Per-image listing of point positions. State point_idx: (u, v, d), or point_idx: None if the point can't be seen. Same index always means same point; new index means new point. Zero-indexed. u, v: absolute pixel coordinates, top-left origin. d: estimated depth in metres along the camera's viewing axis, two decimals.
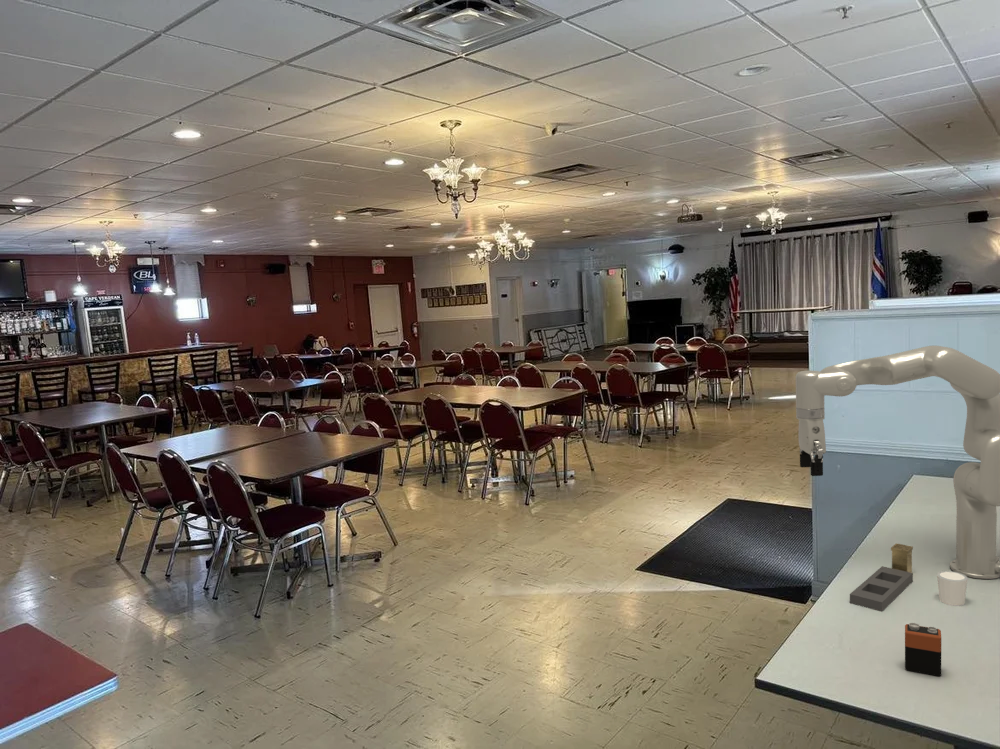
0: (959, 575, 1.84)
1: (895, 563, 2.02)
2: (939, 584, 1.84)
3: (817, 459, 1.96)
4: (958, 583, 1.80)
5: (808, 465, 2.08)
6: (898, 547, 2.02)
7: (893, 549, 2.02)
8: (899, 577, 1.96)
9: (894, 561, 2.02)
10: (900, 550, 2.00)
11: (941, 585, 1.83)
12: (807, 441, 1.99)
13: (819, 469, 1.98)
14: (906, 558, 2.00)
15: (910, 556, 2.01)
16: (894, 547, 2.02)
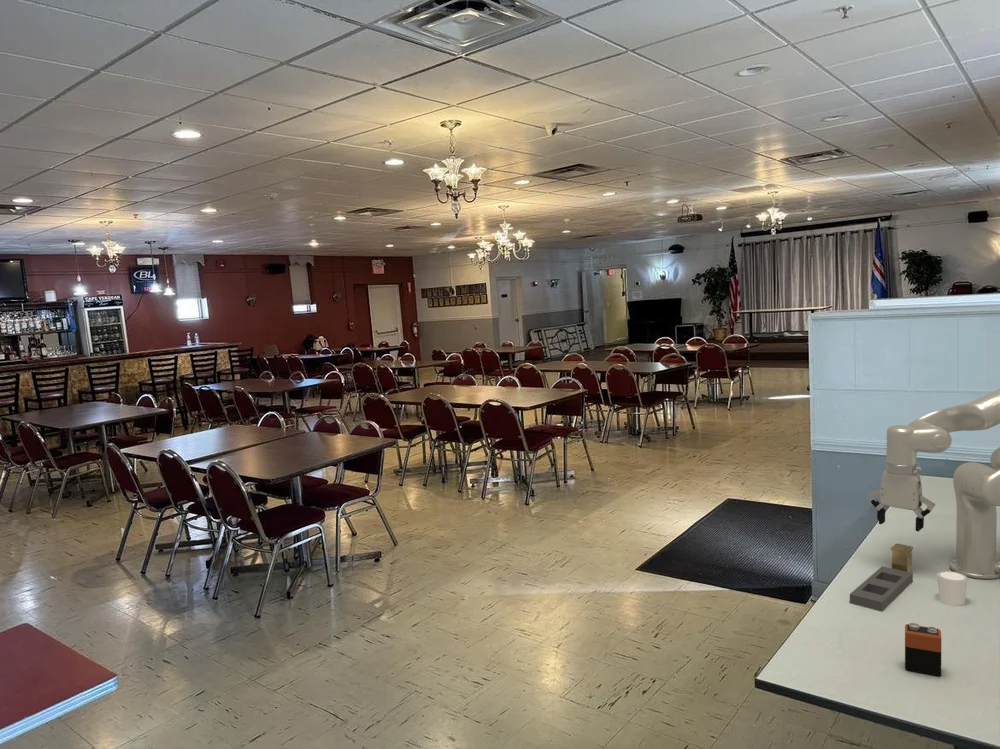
0: (959, 575, 1.84)
1: (895, 563, 2.02)
2: (939, 584, 1.84)
3: None
4: (958, 583, 1.80)
5: (884, 521, 2.05)
6: (898, 547, 2.02)
7: (893, 549, 2.02)
8: (899, 577, 1.96)
9: (894, 561, 2.02)
10: (900, 550, 2.00)
11: (941, 585, 1.83)
12: (913, 497, 1.96)
13: (923, 523, 1.97)
14: (906, 558, 2.00)
15: (910, 556, 2.01)
16: (894, 547, 2.02)
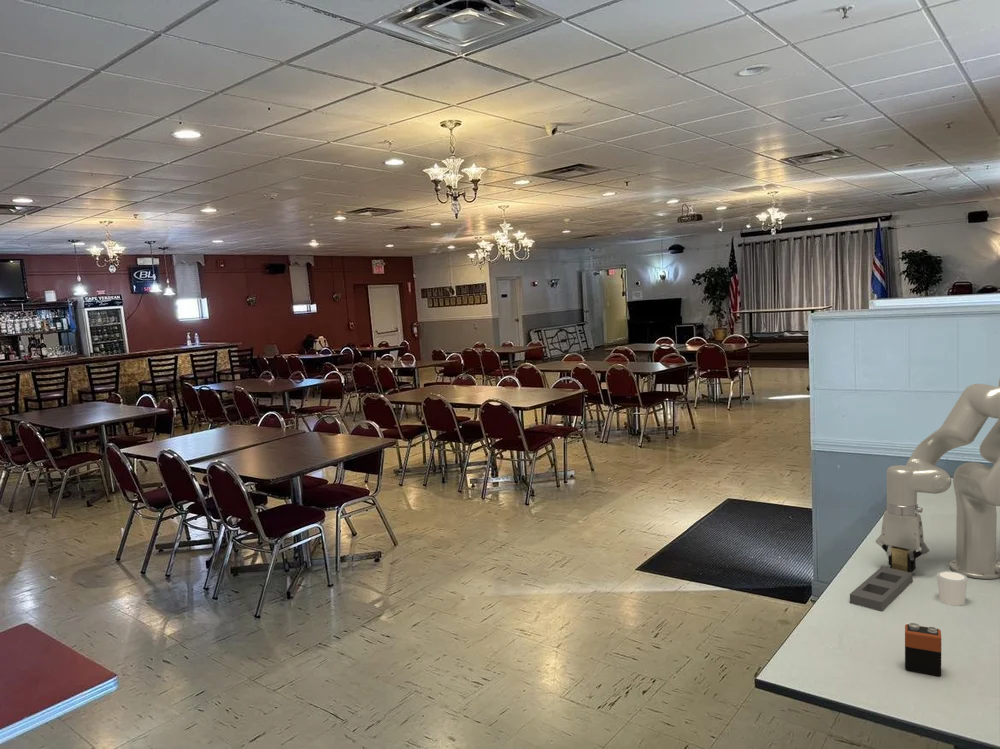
0: (959, 575, 1.84)
1: (895, 563, 2.02)
2: (939, 584, 1.84)
3: (918, 556, 1.99)
4: (958, 583, 1.80)
5: None
6: None
7: (893, 549, 2.02)
8: (899, 577, 1.96)
9: (894, 561, 2.02)
10: (900, 550, 2.00)
11: (941, 585, 1.83)
12: (914, 538, 1.97)
13: (915, 565, 2.01)
14: (906, 558, 2.00)
15: None
16: (894, 547, 2.02)
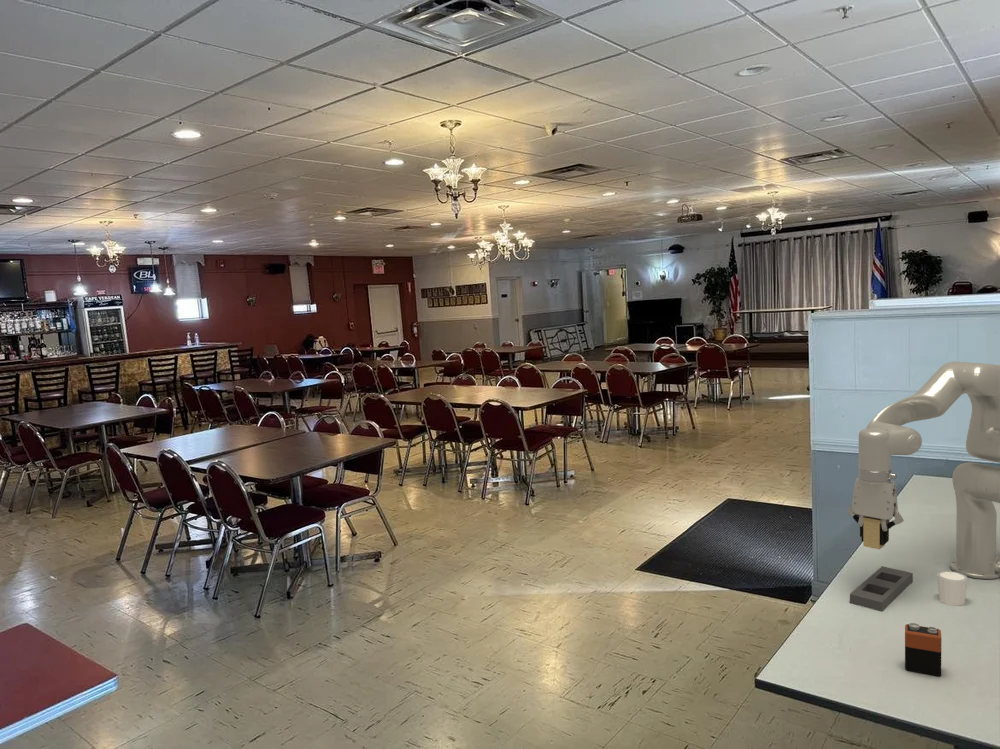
0: (959, 575, 1.84)
1: (867, 534, 1.86)
2: (939, 584, 1.84)
3: (891, 526, 1.83)
4: (958, 583, 1.80)
5: None
6: (870, 517, 1.86)
7: (865, 519, 1.86)
8: (899, 577, 1.96)
9: (865, 532, 1.86)
10: (872, 520, 1.85)
11: (941, 585, 1.83)
12: (887, 506, 1.81)
13: (888, 536, 1.85)
14: (878, 528, 1.84)
15: None
16: (866, 517, 1.86)
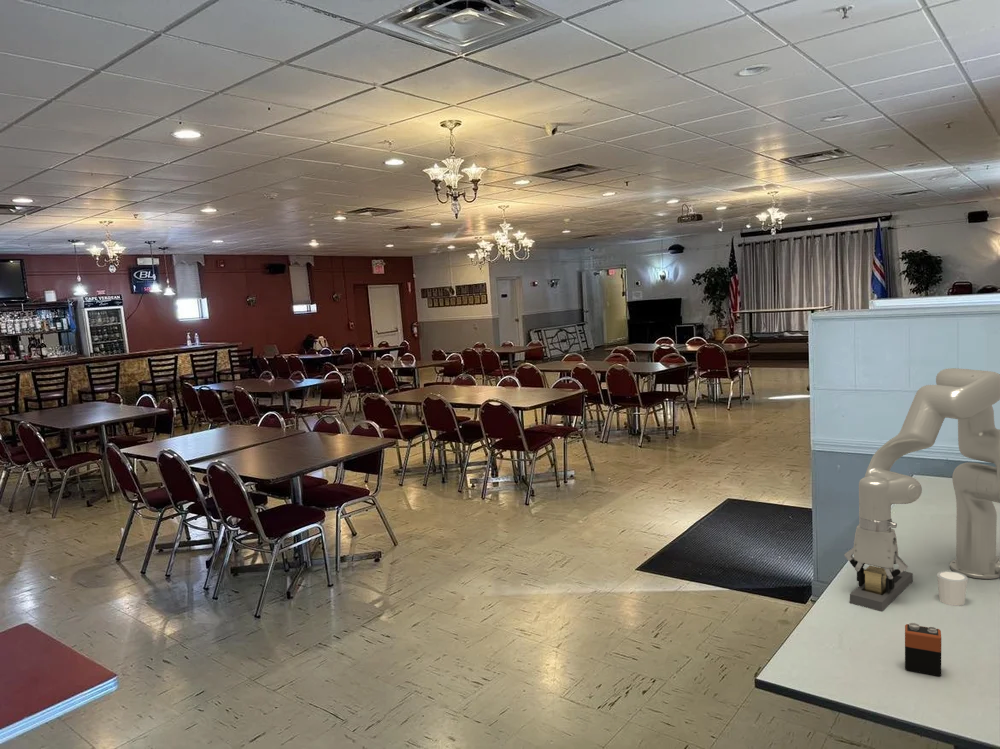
0: (959, 575, 1.84)
1: (868, 587, 1.88)
2: (939, 584, 1.84)
3: (897, 574, 1.84)
4: (958, 583, 1.80)
5: (864, 582, 1.91)
6: (871, 570, 1.88)
7: (866, 572, 1.88)
8: (899, 577, 1.96)
9: (867, 585, 1.88)
10: (873, 573, 1.86)
11: (941, 585, 1.83)
12: (888, 555, 1.83)
13: (893, 584, 1.85)
14: (880, 582, 1.86)
15: (884, 580, 1.87)
16: (867, 570, 1.88)
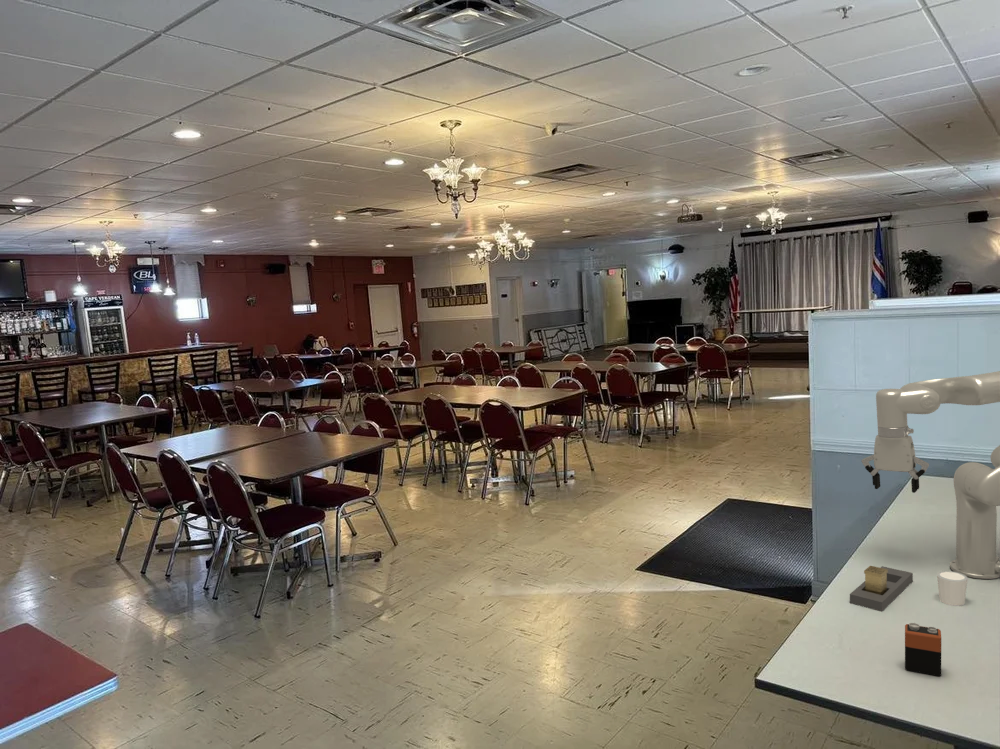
0: (959, 575, 1.84)
1: (868, 587, 1.88)
2: (939, 584, 1.84)
3: (922, 474, 1.97)
4: (958, 583, 1.80)
5: (879, 485, 2.06)
6: (872, 570, 1.88)
7: (866, 572, 1.88)
8: (899, 577, 1.96)
9: (867, 585, 1.88)
10: (874, 573, 1.86)
11: (941, 585, 1.83)
12: (907, 459, 1.97)
13: (918, 484, 1.98)
14: (880, 582, 1.86)
15: (885, 580, 1.87)
16: (867, 570, 1.88)
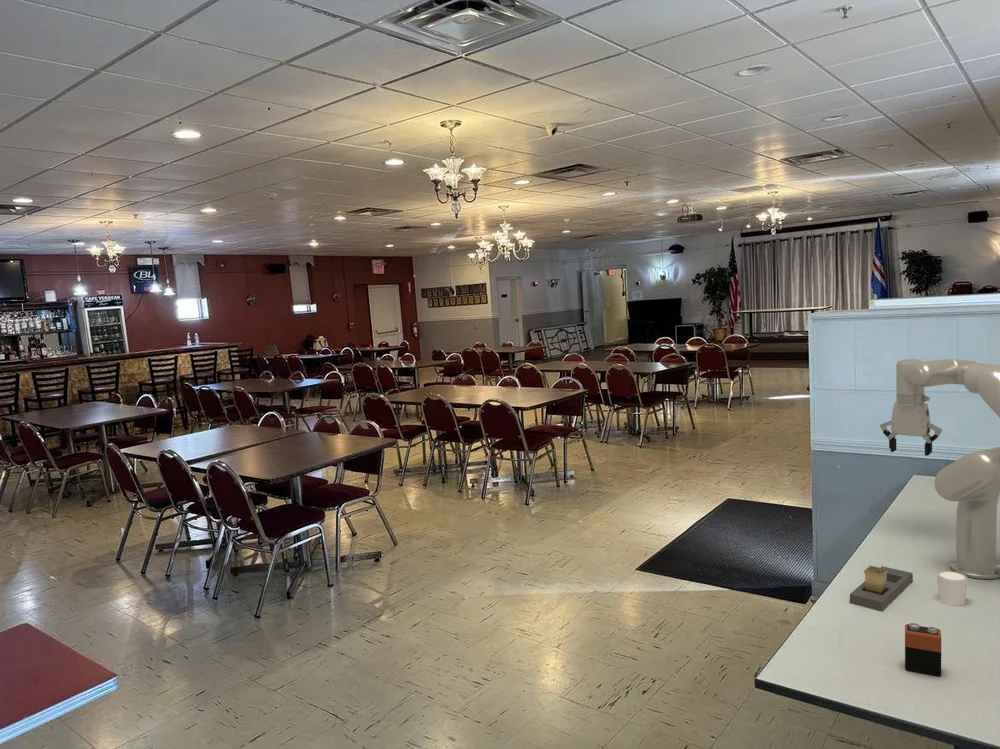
0: (959, 575, 1.84)
1: (868, 587, 1.88)
2: (939, 584, 1.84)
3: None
4: (958, 583, 1.80)
5: (895, 449, 2.23)
6: (872, 570, 1.88)
7: (866, 572, 1.88)
8: (899, 577, 1.96)
9: (867, 585, 1.88)
10: (874, 573, 1.86)
11: (941, 585, 1.83)
12: (922, 424, 2.14)
13: (931, 448, 2.15)
14: (880, 582, 1.86)
15: (885, 580, 1.87)
16: (867, 570, 1.88)
